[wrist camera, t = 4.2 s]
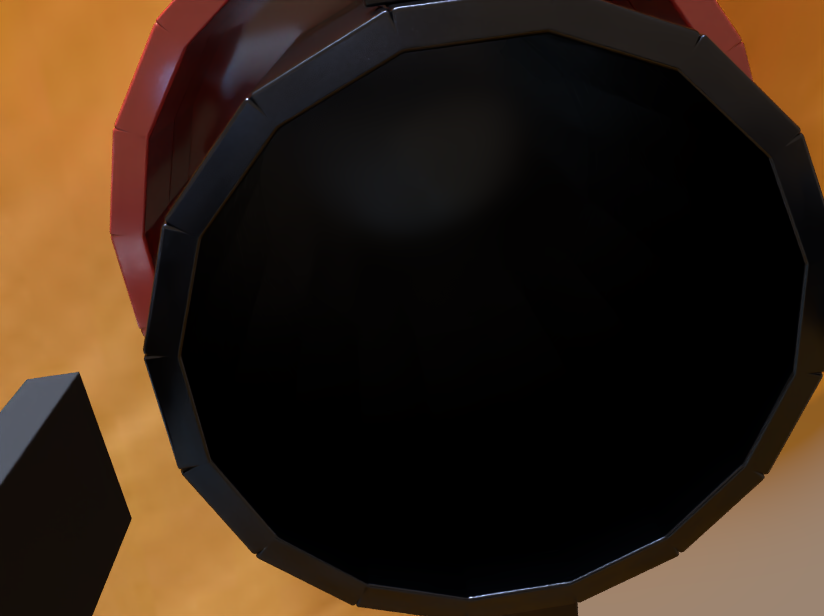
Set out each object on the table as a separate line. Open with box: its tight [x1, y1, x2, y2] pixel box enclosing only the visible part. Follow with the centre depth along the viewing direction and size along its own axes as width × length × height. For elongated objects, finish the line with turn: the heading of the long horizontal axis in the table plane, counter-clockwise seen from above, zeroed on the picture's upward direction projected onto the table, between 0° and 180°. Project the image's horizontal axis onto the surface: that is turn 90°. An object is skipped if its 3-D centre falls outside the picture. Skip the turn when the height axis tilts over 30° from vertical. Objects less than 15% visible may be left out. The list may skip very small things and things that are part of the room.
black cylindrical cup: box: [143, 0, 824, 616], centre depth 17 cm, size 11×14×12 cm
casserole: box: [110, 0, 753, 336], centre depth 21 cm, size 16×16×6 cm
